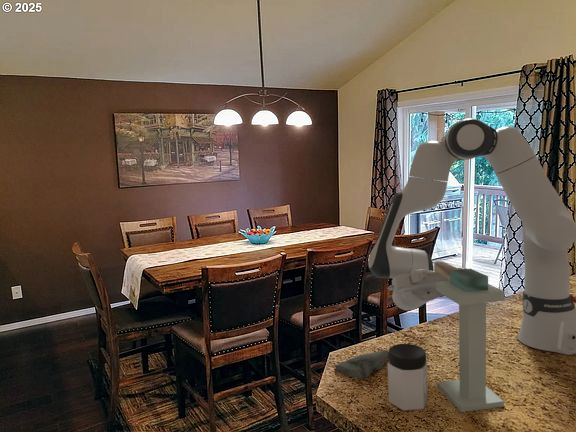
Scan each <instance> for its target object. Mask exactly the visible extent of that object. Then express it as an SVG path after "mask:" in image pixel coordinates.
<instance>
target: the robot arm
mask: <svg viewBox="0 0 576 432" xmlns="http://www.w3.org/2000/svg"><path fill="white" fill-rule="evenodd" d="M477 157H483V159H484V158H485V159H486V160H487V162H488V163H489V165H491V168H492V170H493V172H494V174H495V176H496V178H497V180H498V182H499V183H500V185H501V187H502V189H503V191H504V192H505V195H506V197H507V199H508V200H509V202H510V204H511V205H512V207H513V209H514V211H515V213H516V214H517V216H518V218H519V220H520V221H521V223H522V241H523V243H522V244H523V246H522V247H523V257H524V259H523V260H524V290H523V291H522V309H523V310H522V311H523V312H522V321H521V324H520V329H519V330H518V331H519V332H518V335H517V340H518V341H519V342H520V343H521V344H523V345H525V346H528V347H531V348H533V349H536V350H540V351H546V352H554V353H558V354H562V355H567V356H572V355H575V354H576V305H575V303H576V295H574V296H573V295H572V294H570V289H571V288H570V286H571V278H570V277H571V265H570V261H569V254H568V248H570V247H571V246H572V245H573V244H574V243H575V242H576V222H575V220H574V218H573V217H572V215H571V213H570V212H569V210H568V208H567V206H566V205H565V203H564V202H563V200H562V198H561V197H560V195H559V194H558V192H557V191H556V189H555V187H554V186H553V185H552V184H553V183H551V181H550V179H549V178H548V176H547V174H546V173H545V172H546V171H544V168H543V167H542V165H541V163H540V161H539V159H538V157H537V155H536V153H535V152H534V150H533V148H532V147H531V145H530V143H529V142H528V141H527V140H526V138H525V137H524V136H523V134H522V133H521V132H520V130H519V129H517V128H516V127H515V126H512V125H511V126H509V125H507V126H501V127H498V128H496V129H495V128H494V127H492V126H490V125H489V124H487V123H485V122H483V121H482V120H479V119H477V118H474V117H473V118H471V117H470V118H463V119H460V120H459V121H457V122H456V123H454V124H453V125H451V126H450V128H449V129H448V130H447V132H446V133H445V135H444V136H443V137H442V139H440V140H427V141H424V142H422V143H420V144H419V145H418V147H417V148H416V151H415V153H414V156H413V158H412V162H411V165H410V166H411V167H410V169H409V174H408V179H407V181H406V184H405V186H404V187H403V189H402V190H400V191H399V192H396V193H395V194H394V196H393V198H392V199H391V201H390V204H389V205H388V208H387V211H386V213H385V216H384V219H383V221H382V224H381V227H380V229H379V233H378V235H377V238H376V241H375V242H374V245H373V246H372V249H371V251H370V253H369V255H368V256H369V257H368V263H367V265H368V269H369V271H370V272H371V273H372V274H373V276H375V277H376V278H378V279H392V280H391V284H390V285H389V286H387V290H388V291H392V296H391V297H392V300H393V304H394V305H395V306H397V307H398V308H399V309H401V310H404V311H411V310H416V309H418V308H420V307H422V306H423V305H425V304H427V303H429V302H431V301H435V300H436V299H438V298H444V297H445V296H444V295H443V294H441V293H439V292H438V291H436V282H441V281H450V280H449V279H447V278H445V277H444V276H442V275H440V274H438V273H436V272H434V262H433V260H432V258H431V256H430V255H429V254H428V253H427V251H426V250H425V249H424V250H422V249H418V248H410V247H400V246H394V245H392V244H393V241H394V239H395V236H396V234H397V231H398V228H399V225H400V223H401V221H402V220H403V218H405V217H406V216H408V215H410V214H412V213H417V212H422V211H427V210H429V209H431V208H434V207H435V206H438V204H440V203H441V202H442V200H444V197H445V194H446V192H447V188H448V181H449V176H450V171H451V169H452V166H453V164H454V163H455V162H457V161H465V160H466V161H467V160H473V159H475V158H477ZM457 268H458V269H468V268H467V267H464V268H463V267H457Z"/></svg>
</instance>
